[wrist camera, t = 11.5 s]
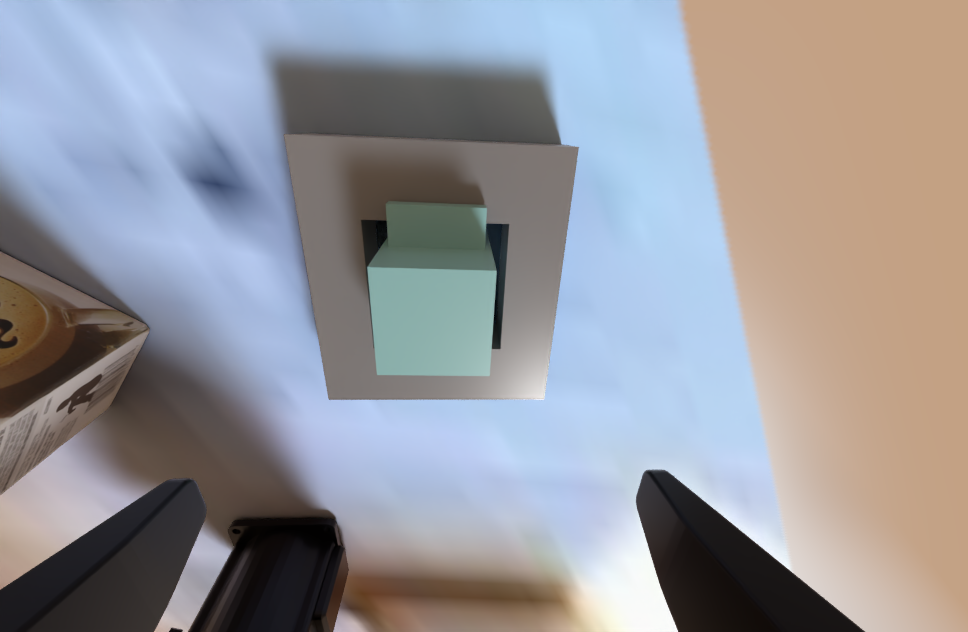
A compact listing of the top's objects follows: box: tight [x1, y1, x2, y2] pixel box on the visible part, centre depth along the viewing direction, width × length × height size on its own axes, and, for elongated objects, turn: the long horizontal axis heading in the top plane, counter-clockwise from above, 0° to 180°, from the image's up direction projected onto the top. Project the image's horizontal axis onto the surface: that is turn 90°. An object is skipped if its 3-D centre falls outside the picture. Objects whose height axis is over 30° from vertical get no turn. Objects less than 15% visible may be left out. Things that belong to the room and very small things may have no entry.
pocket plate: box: [284, 133, 579, 400], centre depth 17 cm, size 10×11×2 cm
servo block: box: [367, 201, 497, 376], centre depth 15 cm, size 4×7×6 cm, turn 177°
